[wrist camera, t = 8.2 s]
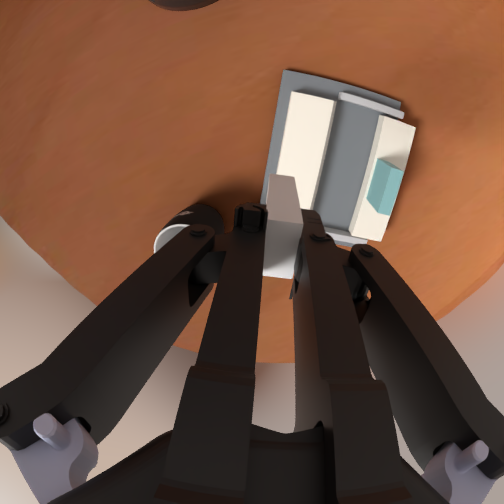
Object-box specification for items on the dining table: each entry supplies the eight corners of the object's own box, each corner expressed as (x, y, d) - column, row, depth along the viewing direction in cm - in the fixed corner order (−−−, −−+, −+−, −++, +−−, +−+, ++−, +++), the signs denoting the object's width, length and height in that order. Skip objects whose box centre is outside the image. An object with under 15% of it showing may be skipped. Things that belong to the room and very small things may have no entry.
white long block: (379, 114, 32) (400, 119, 26) (409, 125, 32) (434, 132, 26) (348, 229, 42) (360, 253, 35) (376, 235, 42) (391, 259, 35)
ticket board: (283, 70, 32) (283, 67, 29) (397, 102, 32) (408, 103, 29) (256, 226, 44) (254, 237, 41) (357, 244, 44) (363, 256, 41)
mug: (206, 185, 41) (187, 210, 33) (242, 229, 45) (233, 263, 36) (154, 226, 46) (128, 258, 37) (188, 264, 49) (170, 301, 40)
